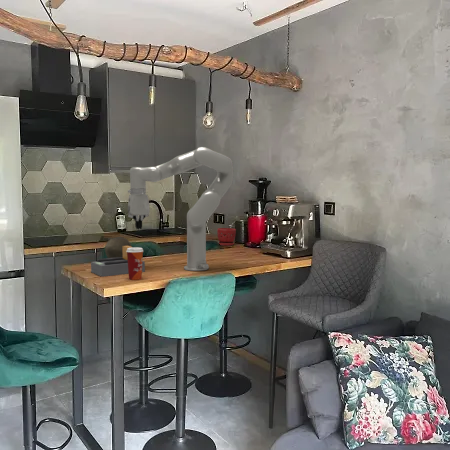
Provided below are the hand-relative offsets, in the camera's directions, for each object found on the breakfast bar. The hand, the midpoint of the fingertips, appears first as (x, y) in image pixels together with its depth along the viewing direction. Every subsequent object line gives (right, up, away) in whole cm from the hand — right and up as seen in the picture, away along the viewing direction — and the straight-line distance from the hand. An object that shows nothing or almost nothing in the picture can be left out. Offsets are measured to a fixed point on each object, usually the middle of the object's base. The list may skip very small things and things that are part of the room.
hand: (138, 228), depth 230 cm
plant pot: (+44, -13, +99) cm, 109 cm away
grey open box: (-9, -21, -5) cm, 24 cm away
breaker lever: (-5, -17, -2) cm, 18 cm away
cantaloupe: (-13, -20, +14) cm, 28 cm away
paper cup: (+2, -23, -21) cm, 31 cm away
